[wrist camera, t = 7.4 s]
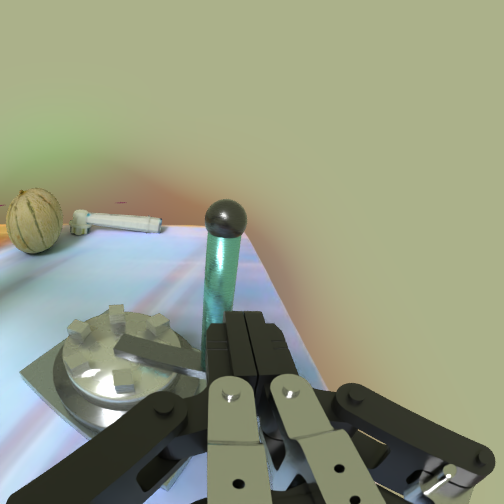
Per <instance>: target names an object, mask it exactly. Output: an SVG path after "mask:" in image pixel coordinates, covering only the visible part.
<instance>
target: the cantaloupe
mask: <svg viewBox="0 0 504 504" xmlns="http://www.w3.org/2000/svg"><path fill="white" fill-rule="evenodd" d="M19 193H20V194H19V195H18V196H17V197H15V198H14V200H13V201H12V202H11V204H10V206H9V208H8V211H7V216H6V228H7V232H8V235H9V238H10V240H11V241H12V243H13V244H14V245H15V246H16V248H18V249H19V250H21V251H23V252H26V253H38V252H42V251H44V250H46V249H48V248H50V247H51V246H52V245H53V244H54V243H55V242H56V241H57V239H58V237H59V235H60V232H61V229H62V225H63V215H62V210H61V207H60V204H59V203H58V201H57V199H56V198H55V197H54V196H53V195H52V194H51V193H50V192H48V191H47V190H45V189H42V188H32V189H28V190H26V191H23V190H20V192H19Z"/></svg>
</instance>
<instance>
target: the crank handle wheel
mask: <svg viewBox="0 0 504 504" xmlns="http://www.w3.org/2000/svg"><path fill="white" fill-rule="evenodd" d="M246 225H247V215H246V212H245V210H244V209H243V207H242V206H241V205H240V204H239V203H237V202H236V201H233V200H230V199H223V200H219V201H217V202H215V203H213V204H212V205H211V206H210V207H209V209H208V210H207V212H206V215H205V226H206V229H207V231H208V238H207V251H206V266H205V281H204V298H203V318H202V342H201V352H197V351H193V350H188V349H184V348H181V346H180V342H179V340H178V337H177V336H176V334H175V333H174V331H173V330H172V329H171V328H170V320H168V319H167V318H165V317H164V316H163V315H161V314H160V313H159V314H156V315H154V316H152V317H151V316H148V315H144V314H140V313H133V312H124V305H123V304H121V305H109V313H107V314H103V315H99V316H96V317H93V318H91V319H89V320H87V321H85V322H82V321H79V320H76V319H75V320H74V321H73V322H72V323H71V324H70V325H69V326H68V327H67V330H68V334H69V336H68V338H67V339H66V341H65V344H64V347H63V362H64V365H65V368H66V371H67V373H68V376H69V378H70V381H71V383H72V385H73V387H74V389H75V390H76V391H77V392H78V394H79V395H80V396H81V397H83V398H84V399H85V400H87V401H88V402H90V403H91V404H93V405H95V406H98V407H101V408H104V409H107V410H112V411H129V410H130V409H131V408H133V407H134V406H135V405H136V404H138V403H139V402H140V401H141V400H143V399H144V398H145V397H146V396H148V395H149V394H151V393H154V392H158V391H169V392H172V391H173V389H174V388H175V386H176V385H177V383H178V381H179V378H180V375H181V374H183V375H187V376H191V377H196V378H200V379H205V380H206V365H205V349H206V331H207V329H208V327H209V326H210V324H211V323H223V313H224V311H232V309H233V300H234V291H235V283H236V274H237V266H238V258H239V249H240V241H241V235H242V234H243V232H244V230H245V229H246Z"/></svg>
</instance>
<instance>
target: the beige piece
mask: <svg viewBox="0 0 504 504" xmlns="http://www.w3.org/2000/svg"><path fill="white" fill-rule="evenodd" d="M161 224H162V219H160V218H153V217H150V216H148V217H144V216H130V215H115V214H101V213H88V212H87V211H86V210H75V212H74V214H73V220H70V222H69V225H70V226H71V227H70V232H71V233H75V234H76V235H80V236H81V234H85V235H86V234H88V233H89V232H90V227H91V226H92V225H97V226H105V227H112V228H120V229H127V230H134V231H142V232H146V233H147V232H149V233H160V231H161Z"/></svg>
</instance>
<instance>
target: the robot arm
mask: <svg viewBox="0 0 504 504" xmlns="http://www.w3.org/2000/svg"><path fill="white" fill-rule="evenodd" d="M205 365H206V383H207V387H206V388H205V389H204V390H203V391H202V392H201V393H199V394H197V395H195V396H191V397H187V398H182V397H180V396H179V395H177V394H175V393H173V392H169V391H158V392H154V393H151V394H149V395H148V396H146V397H145V398H144V399H143V400H141V401H140V402H139V403H138V404H136V405H135V406H134V407H133V408H131V409H130V410H129V411H127V412H126V413H125V414H124V415H122V416H121V417H120V418H118V419H117V420H116V421H114V422H113V423H112V424H111V425H109V426H108V427H107V428H105V429H104V430H103V431H101V432H100V433H99V434H97V435H96V436H95V437H93V438H92V439H91V440H89V441H88V442H87V443H85V444H84V445H82V446H81V447H80V448H78V449H77V450H76V451H74V452H73V453H71V454H70V455H69V456H67V457H66V458H64V459H63V460H62V461H60V462H59V463H57V464H56V465H55V466H53V467H52V468H50V469H49V470H47V471H46V472H45V473H43V474H42V475H40V476H39V477H37V478H36V479H34V480H33V481H31V482H30V483H28V484H27V485H25V486H24V487H22V488H21V489H19V490H18V491H16V492H15V493H13V494H12V495H11V496H10V497H9V498H8V500H7V503H6V504H143V503H144V502H145V501H146V500H147V499H148V498H149V497H150V496H151V495H152V494H153V493H154V492H156V491H157V490H158V489H159V488H160V487H161V486H162V485H163V484H164V483H165V482H166V481H167V480H168V479H169V478H170V477H171V476H172V475H173V474H174V473H175V472H176V471H177V470H178V469H179V468H180V467H181V466H182V465H183V464H184V463H185V462H186V461H187V460H188V458H189V457H191V456H194V455H198V454H201V453H205V452H207V498H203V499H200V500H198V501H195V502H193V503H191V504H468V503H469V500H470V497H471V494H472V491H473V488H474V486H475V485H476V484H477V483H479V482H480V481H481V480H483V479H484V478H485V477H486V476H487V475H489V474H490V473H491V472H492V471H493V469H494V467H495V457H494V454H493V453H492V451H491V450H490V449H489V448H488V447H486V446H484V445H482V444H480V443H477V442H475V441H473V440H470V439H468V438H466V437H464V436H461V435H459V434H457V433H455V432H453V431H451V430H449V429H446V428H444V427H442V426H440V425H438V424H436V423H434V422H432V421H430V420H427V419H426V418H424V417H422V416H420V415H418V414H416V413H414V412H412V411H410V410H408V409H406V408H404V407H402V406H400V405H398V404H396V403H394V402H392V401H390V400H388V399H386V398H385V397H383V396H381V395H379V394H377V393H375V392H374V391H372V390H370V389H368V388H366V387H364V386H362V385H360V384H356V383H348V384H344V385H342V386H341V387H339V389H338V390H337V392H331V391H323V390H318V389H314V388H312V387H311V385H310V384H309V382H308V381H307V380H305V379H304V378H302V377H300V376H299V375H298V372H297V369H296V367H295V364H294V362H293V359H292V356H291V354H290V351H289V349H288V346H287V343H286V342H285V338H284V335H283V333H282V331H281V330H280V329H279V328H278V327H277V326H276V325H275V324H274V323H272V324H266V323H265V320H264V317H263V314H262V312H261V311H243V312H242V311H224V313H223V323H211V324H210V326H209V327H208V329H207V331H206V349H205ZM256 416H259V419H260V427H259V434H258V426H257V417H256ZM358 429H359V430H361V431H363V432H365V433H366V434H368V435H370V436H372V437H374V438H375V439H377V440H379V441H381V442H383V443H385V444H386V445H384V444H381V443H379V442H377V441H376V440H374V439H372V438H370V437H368V436H366V435H365V434H363V433H361V432H359V431H358ZM259 436H260V439H261V442H262V443H260V440H259ZM266 458H267V461H268V464H269V467H270V470H271V473H272V487H273V490H270V483H269V476H268V469H267V461H266ZM374 481H375V482H377V483H379V484H381V485H383V486H385V487H387V488H389V489H391V490H393V491H395V492H397V493H399V494H401V495H403V496H404V499H403V498H401V497H399V496H398V495H396V494H394V493H392V492H390V491H388V490H386V489H384V488H383V487H381V486H379V485H377V484H375V482H374Z"/></svg>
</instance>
